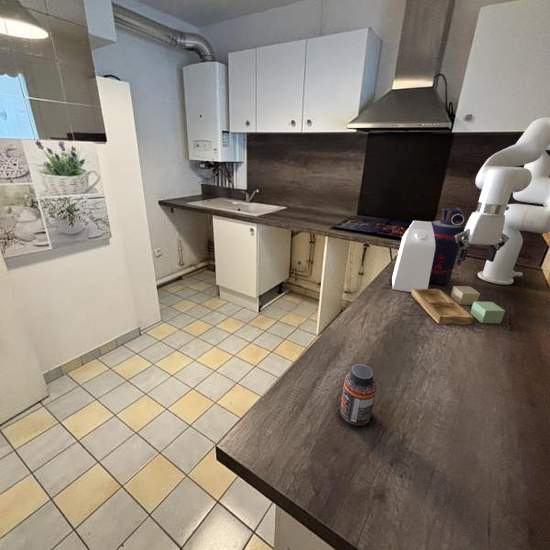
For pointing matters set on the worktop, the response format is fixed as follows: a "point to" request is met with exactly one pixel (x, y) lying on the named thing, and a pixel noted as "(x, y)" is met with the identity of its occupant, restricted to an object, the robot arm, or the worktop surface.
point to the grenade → (446, 244)
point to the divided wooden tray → (441, 307)
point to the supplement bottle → (358, 395)
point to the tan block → (464, 295)
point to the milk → (415, 258)
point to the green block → (487, 312)
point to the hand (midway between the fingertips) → (474, 260)
